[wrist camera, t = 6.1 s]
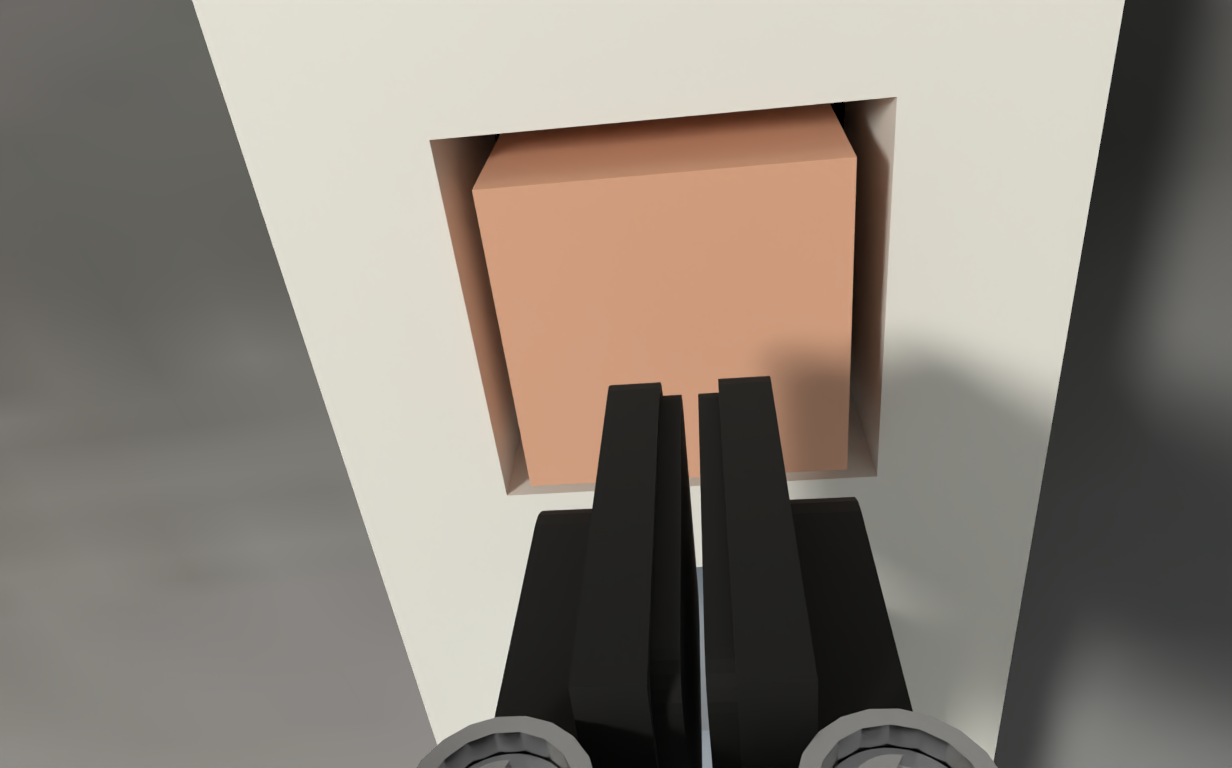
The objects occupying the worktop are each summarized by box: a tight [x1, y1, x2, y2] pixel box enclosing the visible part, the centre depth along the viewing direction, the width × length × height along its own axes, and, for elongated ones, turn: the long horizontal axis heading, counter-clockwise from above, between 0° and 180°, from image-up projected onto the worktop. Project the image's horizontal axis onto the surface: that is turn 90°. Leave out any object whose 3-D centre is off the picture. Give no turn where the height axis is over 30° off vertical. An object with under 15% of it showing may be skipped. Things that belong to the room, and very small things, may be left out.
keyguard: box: [192, 0, 1125, 762], centre depth 18 cm, size 10×25×4 cm, turn 6°
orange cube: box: [472, 103, 857, 486], centre depth 13 cm, size 4×4×4 cm
